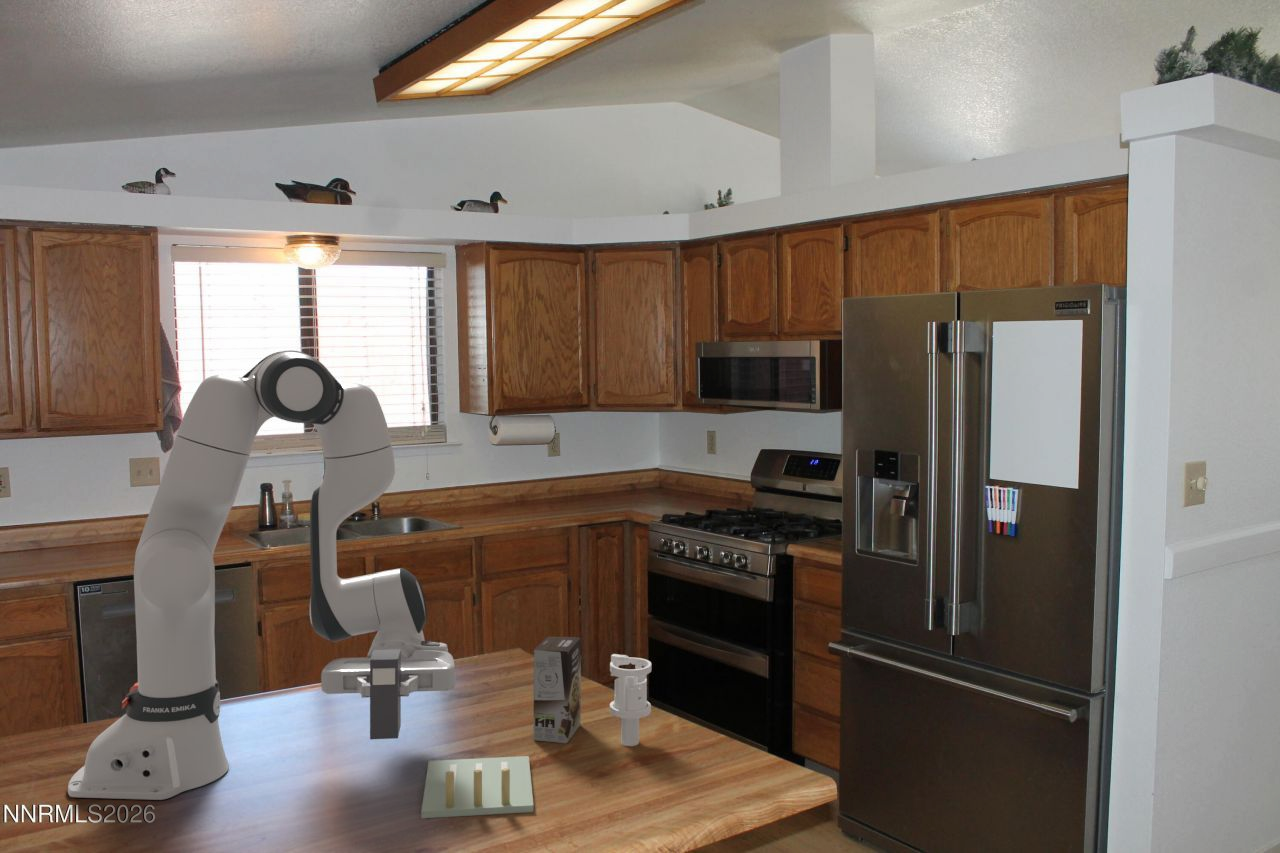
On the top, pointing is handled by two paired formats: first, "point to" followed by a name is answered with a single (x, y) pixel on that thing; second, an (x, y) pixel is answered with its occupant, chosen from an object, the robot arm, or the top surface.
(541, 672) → the coffee box
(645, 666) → the white plastic cylinder
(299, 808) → the top surface
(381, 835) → the top surface
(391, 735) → the block
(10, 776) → the top surface
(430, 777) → the pinboard
